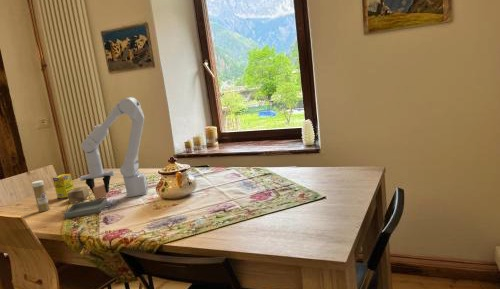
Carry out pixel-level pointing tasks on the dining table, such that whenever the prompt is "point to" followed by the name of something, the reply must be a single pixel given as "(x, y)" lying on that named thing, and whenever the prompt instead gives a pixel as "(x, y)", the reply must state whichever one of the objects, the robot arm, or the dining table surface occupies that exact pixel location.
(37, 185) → the sprinkles bottle
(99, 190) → the terracotta block
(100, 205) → the tray
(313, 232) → the dining table surface
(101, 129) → the robot arm
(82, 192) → the oak block
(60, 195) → the supplement box
